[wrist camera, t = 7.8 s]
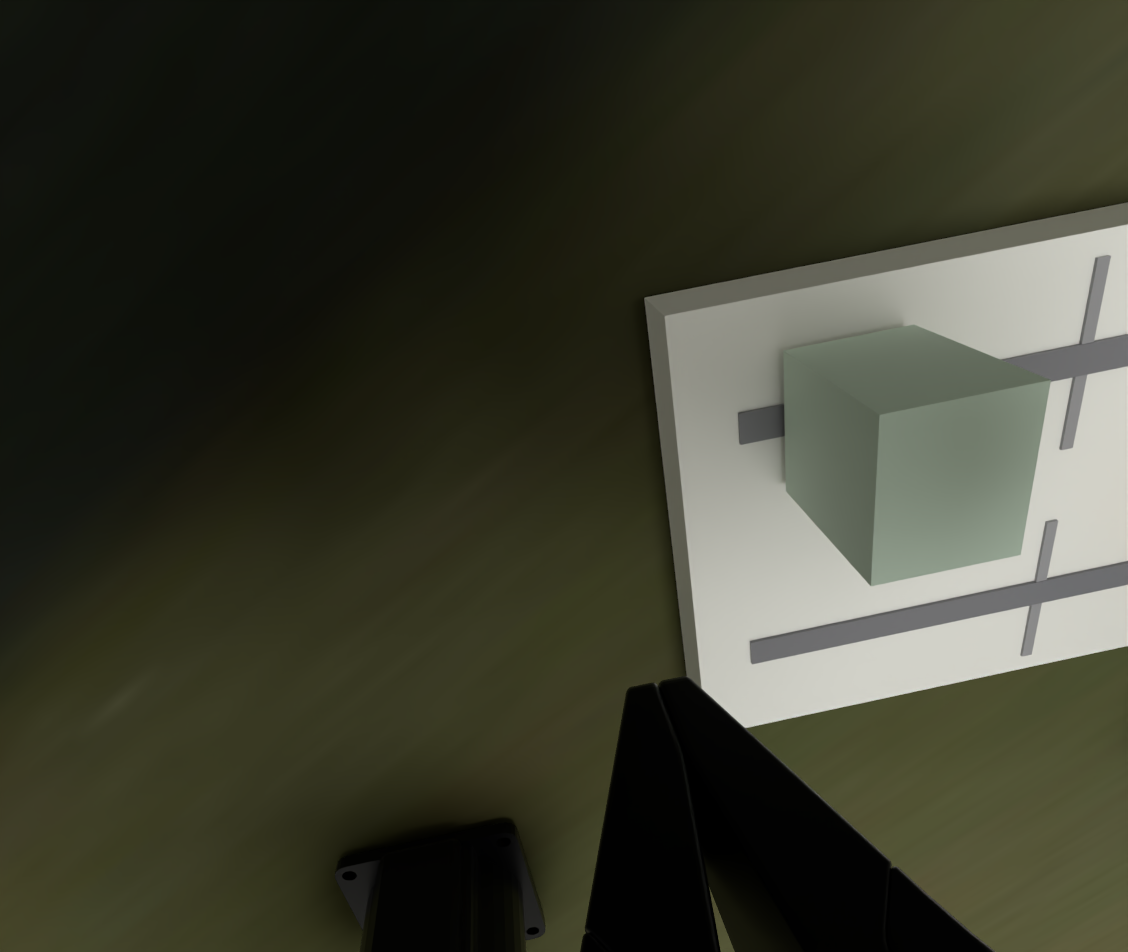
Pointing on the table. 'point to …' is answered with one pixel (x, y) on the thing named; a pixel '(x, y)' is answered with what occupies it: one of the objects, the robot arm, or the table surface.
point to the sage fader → (912, 450)
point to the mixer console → (801, 550)
